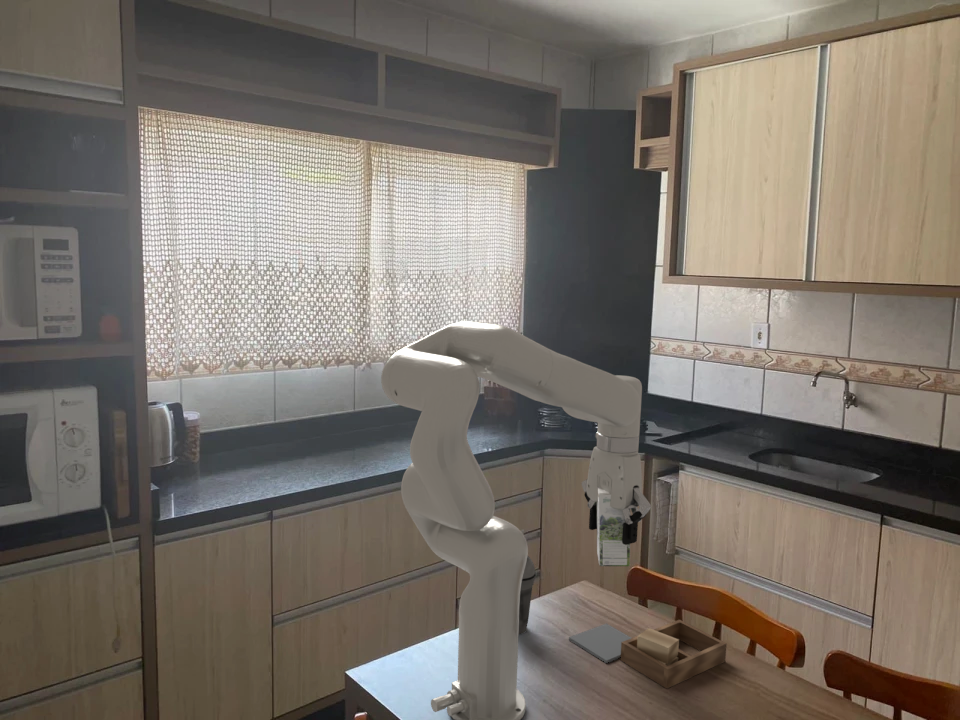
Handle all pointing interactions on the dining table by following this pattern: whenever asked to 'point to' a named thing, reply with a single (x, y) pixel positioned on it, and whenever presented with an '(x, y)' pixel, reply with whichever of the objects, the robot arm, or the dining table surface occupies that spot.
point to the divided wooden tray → (686, 665)
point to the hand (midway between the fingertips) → (612, 535)
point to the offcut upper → (658, 645)
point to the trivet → (601, 642)
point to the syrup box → (610, 533)
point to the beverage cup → (526, 594)
